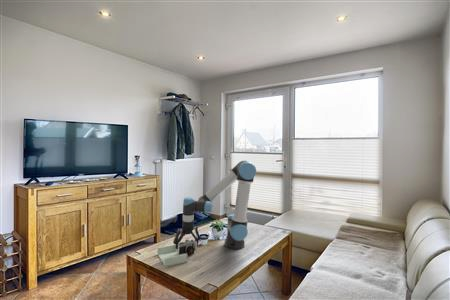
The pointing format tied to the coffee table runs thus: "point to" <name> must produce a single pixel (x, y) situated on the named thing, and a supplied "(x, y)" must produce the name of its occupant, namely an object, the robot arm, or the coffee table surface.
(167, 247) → the u cradle
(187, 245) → the camera
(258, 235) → the coffee table surface
